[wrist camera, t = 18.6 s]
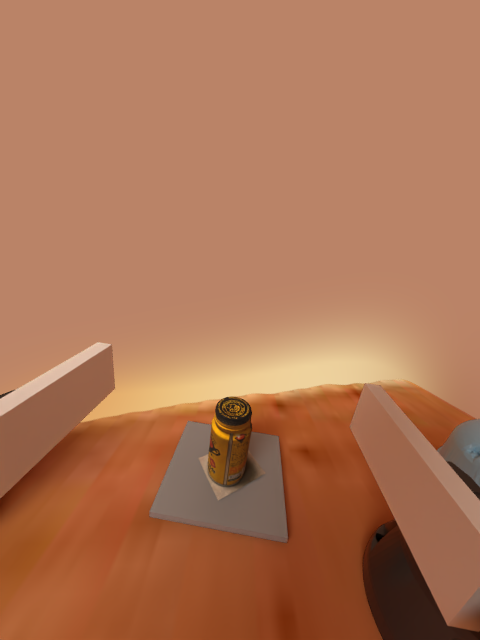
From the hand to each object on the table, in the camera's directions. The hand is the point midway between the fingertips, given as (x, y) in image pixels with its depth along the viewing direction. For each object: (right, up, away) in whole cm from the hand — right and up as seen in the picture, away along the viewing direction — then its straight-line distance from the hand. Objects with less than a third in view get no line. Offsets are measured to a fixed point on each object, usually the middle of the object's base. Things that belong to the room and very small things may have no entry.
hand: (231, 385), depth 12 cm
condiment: (-1, -21, +24) cm, 32 cm away
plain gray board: (-2, -21, +25) cm, 33 cm away
